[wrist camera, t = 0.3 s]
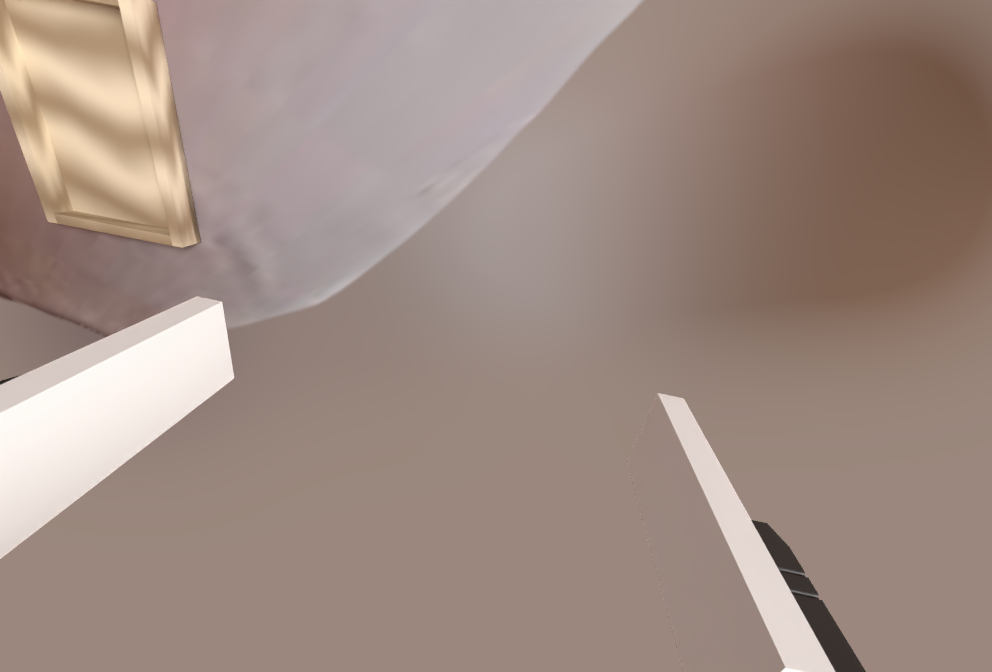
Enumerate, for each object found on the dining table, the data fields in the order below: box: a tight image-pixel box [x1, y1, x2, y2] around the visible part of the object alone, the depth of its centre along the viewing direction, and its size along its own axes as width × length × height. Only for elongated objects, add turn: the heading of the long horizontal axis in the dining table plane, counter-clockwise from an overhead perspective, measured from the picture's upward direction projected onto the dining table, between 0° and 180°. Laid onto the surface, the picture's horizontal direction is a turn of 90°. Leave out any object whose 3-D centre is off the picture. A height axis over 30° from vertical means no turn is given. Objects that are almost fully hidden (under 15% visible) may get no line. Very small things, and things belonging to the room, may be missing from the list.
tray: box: [0, 0, 201, 248], centre depth 35 cm, size 20×14×2 cm
